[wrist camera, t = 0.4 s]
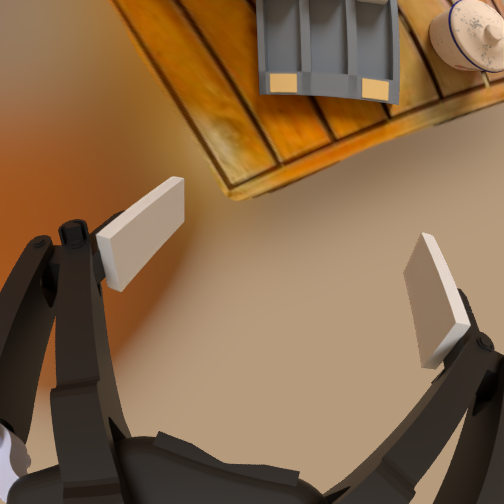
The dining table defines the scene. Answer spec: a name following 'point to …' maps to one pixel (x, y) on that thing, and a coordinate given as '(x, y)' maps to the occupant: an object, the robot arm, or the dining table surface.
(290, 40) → the switch bank
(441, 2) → the dining table surface
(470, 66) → the teacup with lid
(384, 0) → the tab
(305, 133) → the dining table surface
